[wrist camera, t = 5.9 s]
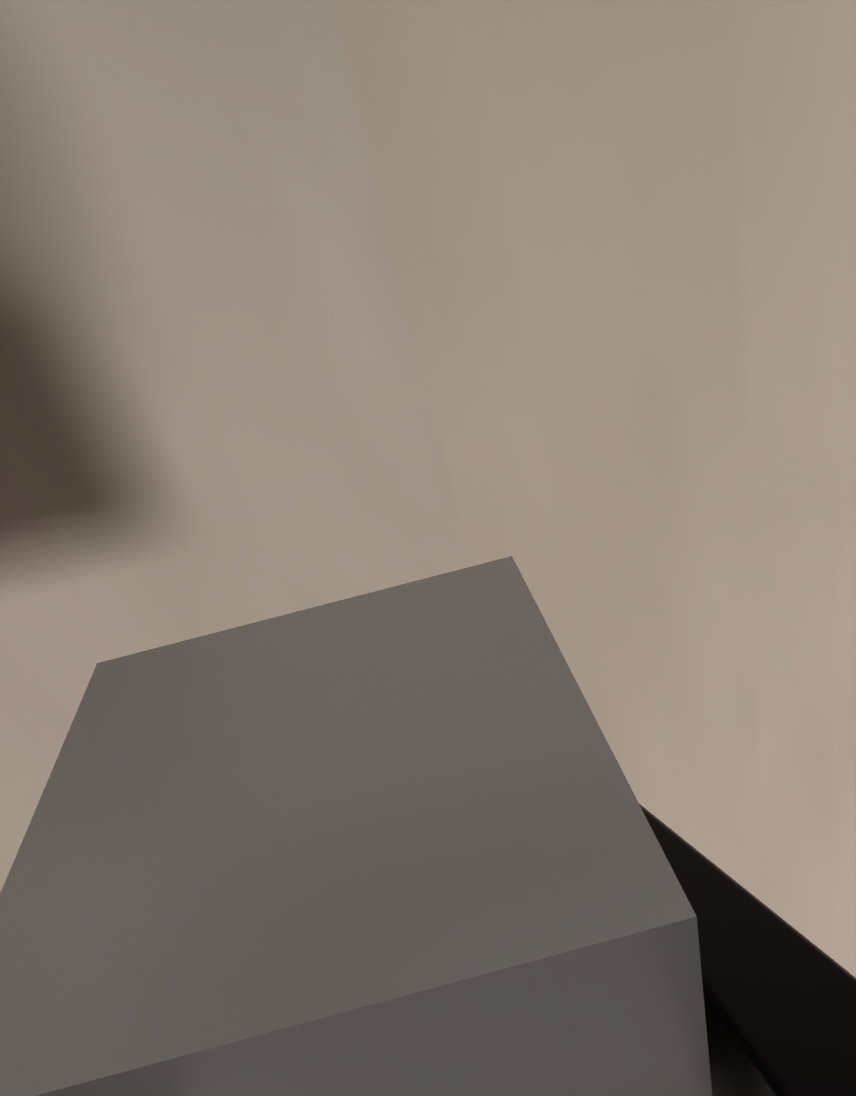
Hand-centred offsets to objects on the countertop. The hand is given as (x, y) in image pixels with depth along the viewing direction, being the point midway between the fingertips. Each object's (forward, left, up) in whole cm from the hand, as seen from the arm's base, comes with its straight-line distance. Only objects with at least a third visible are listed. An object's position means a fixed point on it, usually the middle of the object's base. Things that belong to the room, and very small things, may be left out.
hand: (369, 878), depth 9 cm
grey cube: (0, 0, -2) cm, 2 cm away
